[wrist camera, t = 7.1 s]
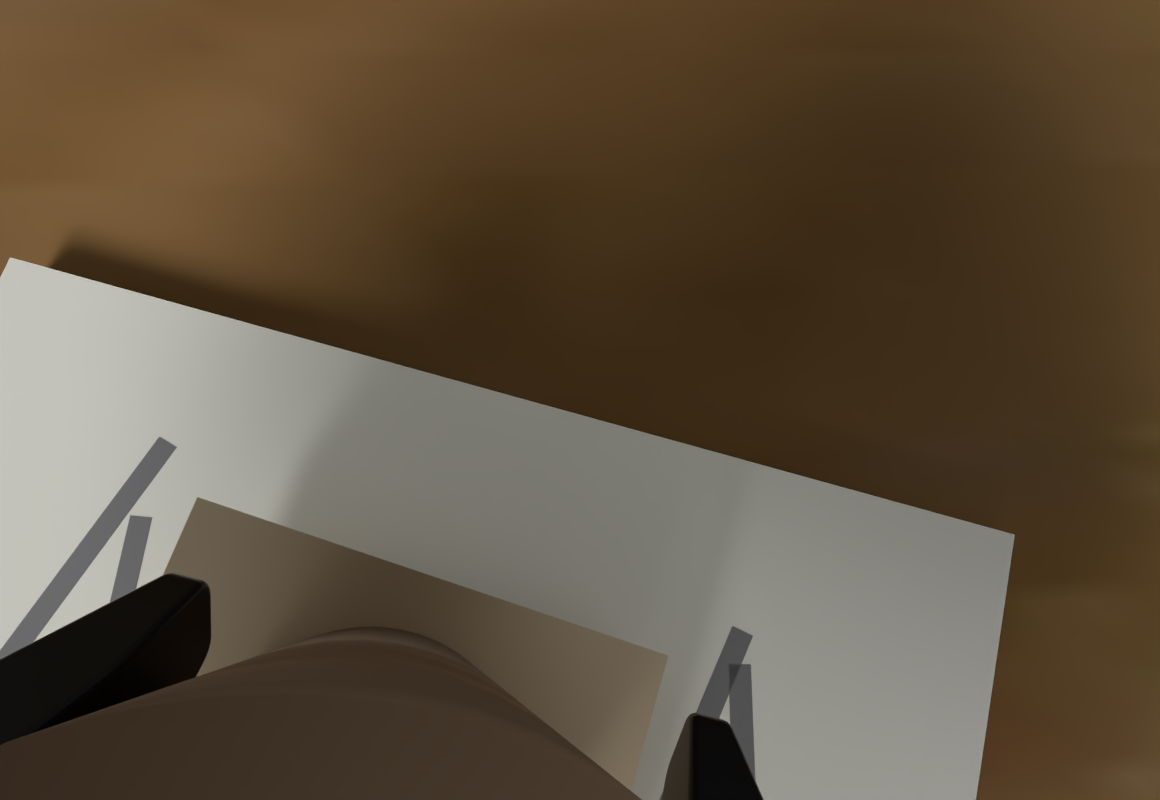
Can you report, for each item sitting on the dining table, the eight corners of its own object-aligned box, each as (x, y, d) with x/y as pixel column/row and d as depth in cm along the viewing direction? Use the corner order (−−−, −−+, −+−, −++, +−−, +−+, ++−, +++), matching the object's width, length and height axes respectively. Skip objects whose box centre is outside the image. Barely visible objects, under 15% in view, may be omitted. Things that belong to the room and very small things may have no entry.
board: (990, 541, 18) (1015, 534, 17) (866, 1340, 14) (889, 1390, 13) (38, 278, 19) (9, 257, 18) (-292, 961, 15) (-349, 981, 14)
